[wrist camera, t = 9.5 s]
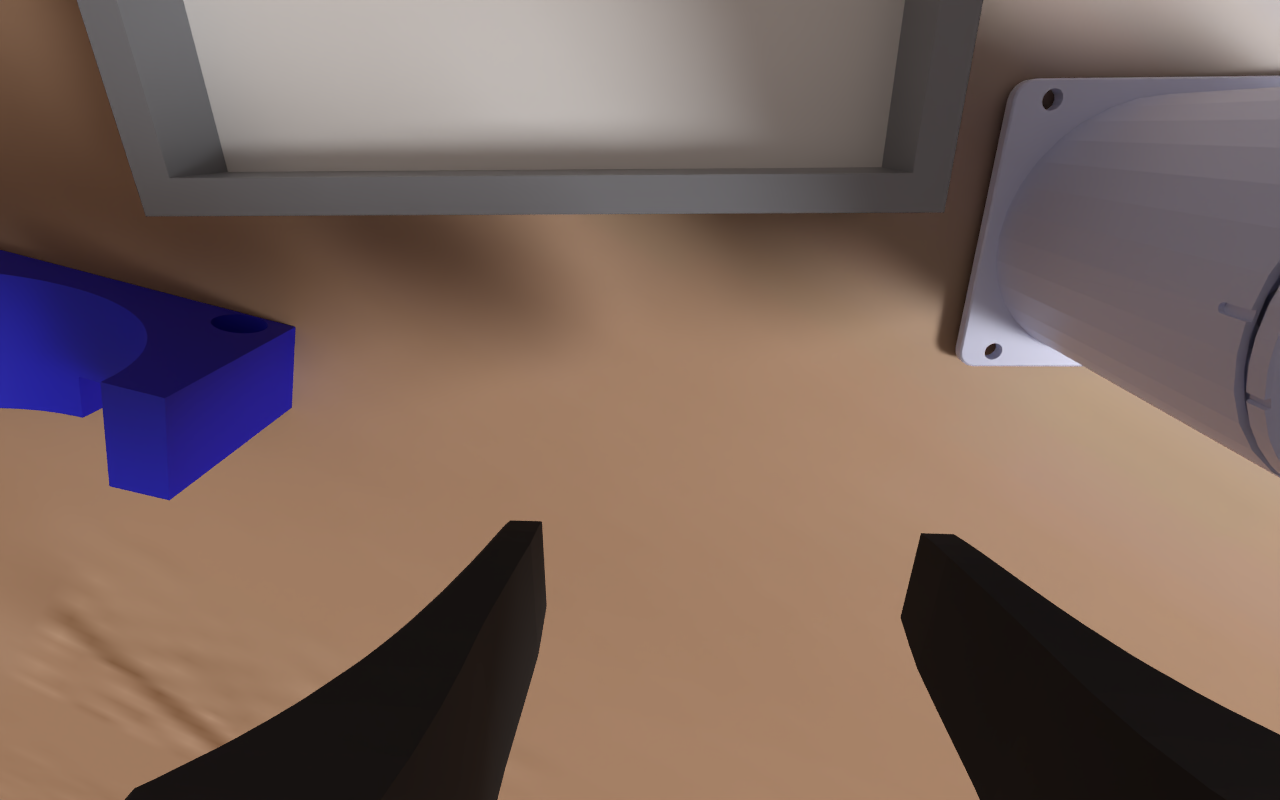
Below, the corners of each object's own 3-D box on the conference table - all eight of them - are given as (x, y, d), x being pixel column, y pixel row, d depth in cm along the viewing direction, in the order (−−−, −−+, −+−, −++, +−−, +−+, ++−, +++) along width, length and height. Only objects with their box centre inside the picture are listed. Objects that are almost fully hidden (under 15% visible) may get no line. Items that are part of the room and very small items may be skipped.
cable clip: (-62, 354, 21) (-315, 434, 16) (-89, 223, 19) (-385, 261, 14) (292, 442, 22) (171, 546, 17) (298, 325, 20) (165, 398, 15)
